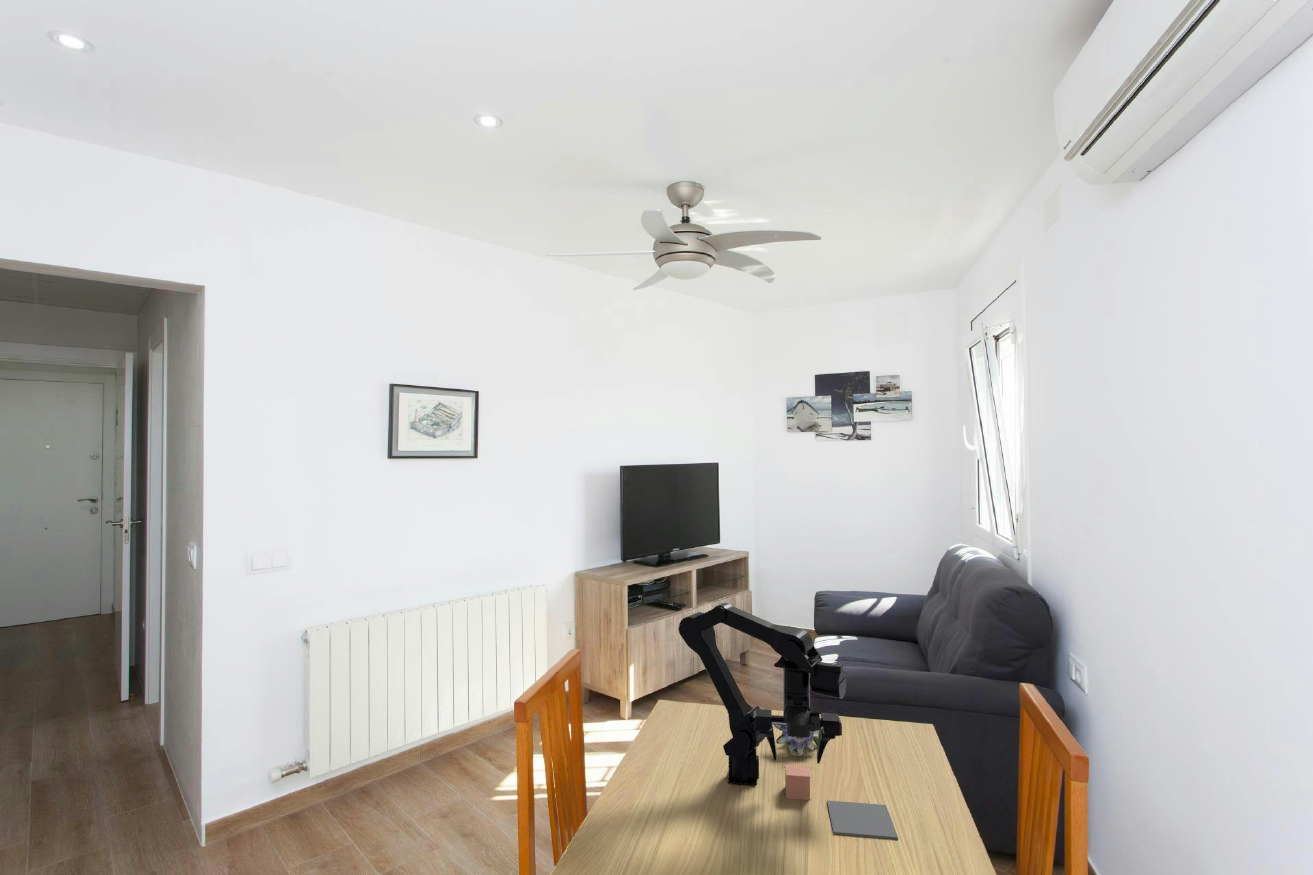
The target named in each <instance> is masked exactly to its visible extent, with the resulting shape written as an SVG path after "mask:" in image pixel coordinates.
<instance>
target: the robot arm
mask: <svg viewBox="0 0 1313 875" xmlns="http://www.w3.org/2000/svg"><path fill="white" fill-rule="evenodd" d="M719 624H723V625H726V626H728V627H730V628H732V629H735V630H737V631H739V632H741V633H744V634H745V635H747V636H750V637H753V638H754V639H757V640H759V641H761V642H762V643H763V642H764V643H765V644H767V645H768V646H770V647H771V649H772V650H773V651H774V652H775V653H777V654H778V655H780V658H779V659H778V660H777V661H776V662H775V663H774V664H773V667H775V668H780V669H783V674H782V675H783V678H782V680H783V682H782V683H783V684H782V685H783V687H782V688H783V694H782V695H783V696H782V701H783V707H782V708H783V715H780V716H778V715H779V714H777V715H775V714H772V709H767V708H760V707H759V706H758V705H756V706H754V707H752V705H750V704H749V703H748V702H747V701H746V700H745V698H744V695H743V693H742V692H741V690H740V688H739V686H738V684H737V682H736V681H735V679H734V676H733V675H732V672H731V671H730V669H729V667H728V664H727V663H726V661H725V659H724V657H723V654H722V653H721V651H720V649H719V648H718V645H717V638H716V631H715V628H714V627H715V626H717V625H719ZM678 633H679V635H680V637H681V639H682V640H683V641H684V643H685V644H686V646H687V647H688V648H690V650H691V651H693V652H694V653H696V654H697V656H699V659H700V661H701V662H702V664H703V666H704V669H705V670H706V672H707V674H708V676H709V678H710V680H711V683H712V684H713V686H714V688H715V689H716V693H717V694H718V696H719V697H720V699H721V702H722V703H723V706H724V708H725V710H726V712H727V714H728V715H727V716H728V723H729V724H728V726H729V727H728V728H729V732H731V736H732V737H731V738H730V739H729V740H728V741H727V742H725V744H723V746H722V747H723V751H724V754H725V756H727V757H728V772H727V783H729V784H734V785H739V784H740V785H746V786H747V785H749V786H757V785H758V780H759V779H760V756H759V755H757V748H758V747H759V746H760V744H761V743H762V742H763V741H764V740H765V739H767V742H768V744H769V747H770V752H771V753H772V757H773V760H774V761H776V762H777V748H776V740H775V731H774V725H785V726H787V734H788V736H790V737H795V736H798V737H804V738H808V737H810V731H816V730H818V731H819V736H818V746H817V745H816V747H817V748H816V763H817V764H818V765H819V764H820V763H821V761H822V757H823V755H824V753H825V752H824V751H825V749H826V746H827V745H828V743H829V742H830V741H831V740H835V739H836V737H841V736H843V726H842V725H843V724H842V720H841V718H840V716H839V715H838V713H834V712H833V713H831V712H830V713H829V712H821V713H820V712H817V711H812V710H811V691H812V692H814V693H815V695H820V696H825V697H831V698H835V699H840V700H841V699H844V697H845V695H846V690H847V677H846V673H845V671H844V665H843V664H841V663H829V662H823V657H822V656H821V654H820V653H819V652H818V650H817V648H816V647H815V645H814V642H813V638H812V636H811V634H810V633H809V632H808V631H806V630H804V629H802V628H797V627H793V626H787V625H779V624H774V623H772V622H770V621H768V620H765V619H763V618H760V617H759V616H756V615H755V614H754V615H753V614H752V613H749V612H747V611H745V610H743V609H740V608H738V607H735V606H733V605H732V604H730V603H728V602H723V603H720V604H718V605H716V606H714V607H713V608H712V609H710V610H707V611H705V612H702V611H697V612H695V613H693V614H690V615H688V616H686V617H683V618H682V619H681V620H680V622H679V624H678Z"/></svg>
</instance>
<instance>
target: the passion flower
mask: <svg viewBox="0 0 1313 875" xmlns="http://www.w3.org/2000/svg"><path fill="white" fill-rule="evenodd" d="M777 715H778V716H781V715H779V714H777ZM773 727H774V728H775V729H777V730H779V731H781V732H782V733H781V734H780V735H779V736H778V737H777V738H776V740H775V744H777V745H782V744H785V743H786V749H787V750H788V752H789V753H790V754H791V753H793V752H795V753H796V754H797V756H798V757H802V755H803V754H804V748H807V749H809V750H811V751H814V749H815V746H816V747H817V746H818V736H819V730H816V731H810V737H808V738H804V737H798V736H795V737H790V736H788V734H787V726H785V725H773ZM813 742H814V743H815V745H814V743H813Z"/></svg>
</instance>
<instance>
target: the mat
mask: <svg viewBox="0 0 1313 875" xmlns="http://www.w3.org/2000/svg"><path fill="white" fill-rule="evenodd" d="M826 804H827V809H828V814H829V817H830V824H831V829H832V832H833V835H842V836H854V837H865V838H866V837H867V838H875V839H876V838H877V839H887V840H889V839H890V840H891V839H892V840H899V836H898V834H897V831H896V828H895V825H894V823H893V821H892V818H891V815H890V813H889V810H888V807H887V805H886V804H879V803H877V804H876V803H867V802H865V803H864V802H852V801H842V800H839V801H838V800H829V799H828V800H826Z"/></svg>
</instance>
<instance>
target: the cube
mask: <svg viewBox="0 0 1313 875" xmlns="http://www.w3.org/2000/svg"><path fill="white" fill-rule="evenodd" d="M784 781H785V783H784V784H785V785H784V788H785V798H786V799H791V800H792V799H794V800H803V801H804V800H806V801H811V775H810V770H809V766H808V765H797V764H784Z"/></svg>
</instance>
